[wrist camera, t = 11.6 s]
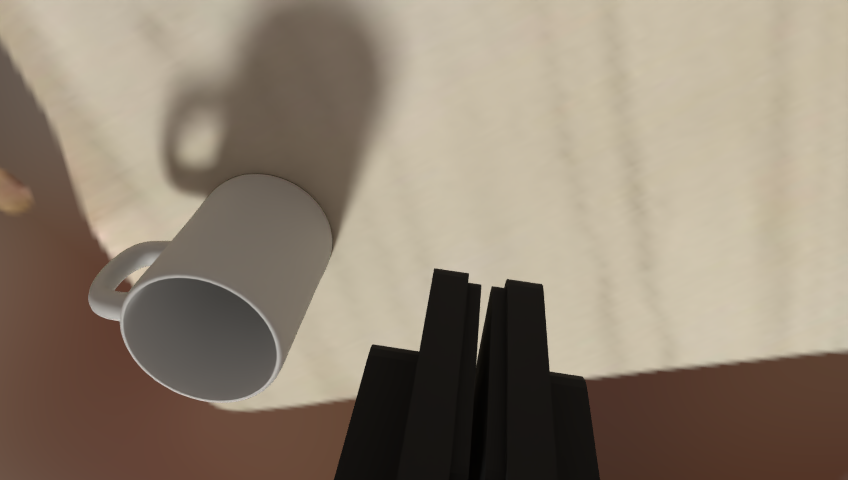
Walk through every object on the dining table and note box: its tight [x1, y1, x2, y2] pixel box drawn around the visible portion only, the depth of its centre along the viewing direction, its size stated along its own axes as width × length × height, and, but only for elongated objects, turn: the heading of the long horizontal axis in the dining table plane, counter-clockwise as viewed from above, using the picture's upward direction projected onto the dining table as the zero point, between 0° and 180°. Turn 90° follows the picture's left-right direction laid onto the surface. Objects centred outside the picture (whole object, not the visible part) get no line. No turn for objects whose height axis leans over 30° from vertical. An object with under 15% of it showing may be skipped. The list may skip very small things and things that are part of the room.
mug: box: [88, 174, 332, 403], centre depth 38 cm, size 12×8×11 cm
